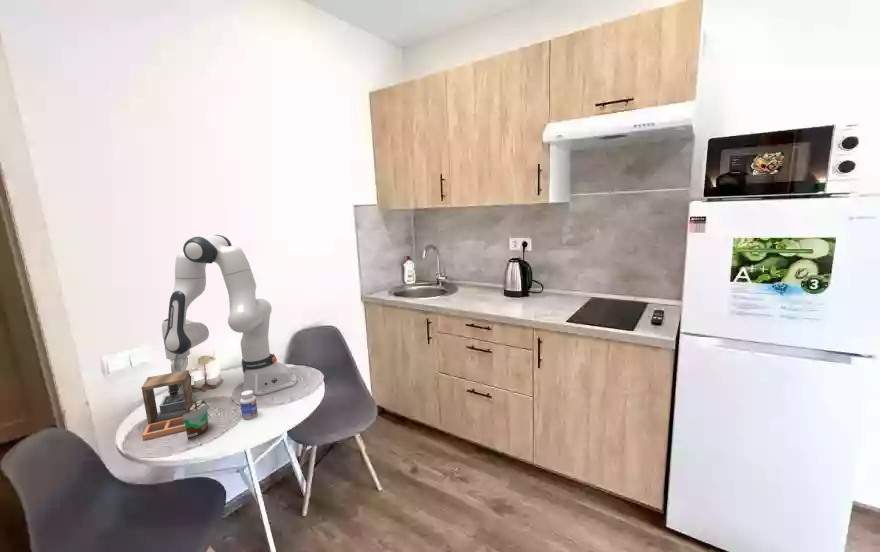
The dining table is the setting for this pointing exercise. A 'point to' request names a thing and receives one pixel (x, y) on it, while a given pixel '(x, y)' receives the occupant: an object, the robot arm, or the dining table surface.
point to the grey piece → (173, 406)
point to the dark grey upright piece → (174, 394)
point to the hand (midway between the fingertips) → (182, 381)
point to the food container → (196, 418)
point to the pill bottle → (248, 405)
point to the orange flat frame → (164, 428)
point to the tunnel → (161, 382)
